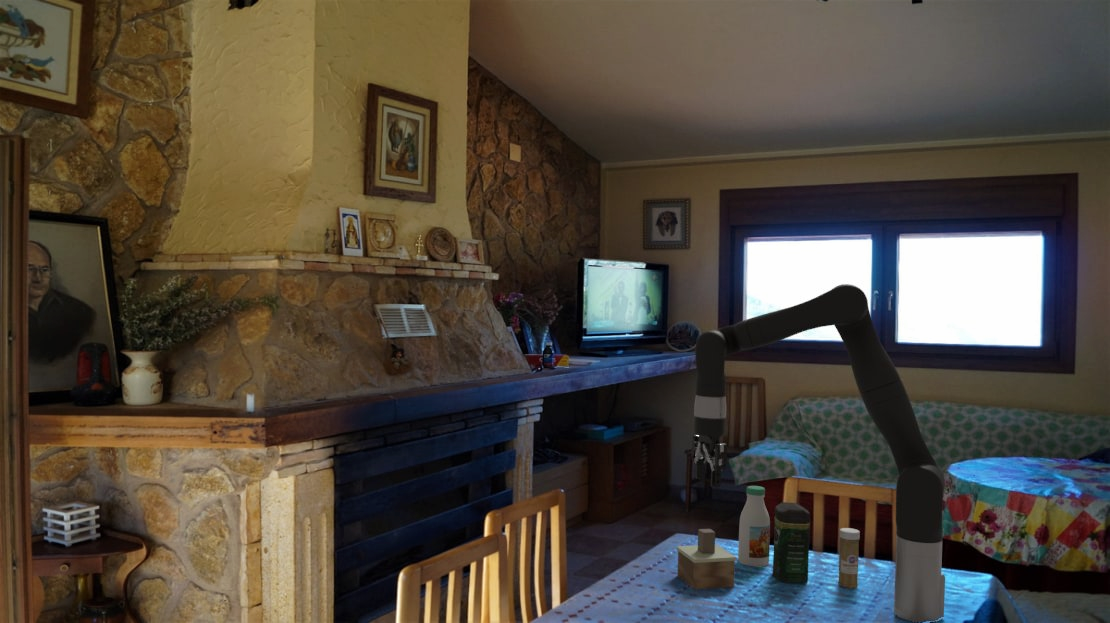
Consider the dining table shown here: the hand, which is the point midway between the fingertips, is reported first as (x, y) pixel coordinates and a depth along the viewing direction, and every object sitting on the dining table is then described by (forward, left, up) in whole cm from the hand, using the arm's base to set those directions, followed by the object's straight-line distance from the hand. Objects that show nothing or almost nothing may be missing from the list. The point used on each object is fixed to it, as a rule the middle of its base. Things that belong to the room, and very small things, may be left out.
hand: (707, 482), depth 205 cm
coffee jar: (-22, +1, -25) cm, 33 cm away
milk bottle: (-19, -12, -25) cm, 33 cm away
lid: (0, 0, -17) cm, 17 cm away
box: (0, 0, -24) cm, 24 cm away
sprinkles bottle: (-34, +7, -25) cm, 43 cm away
